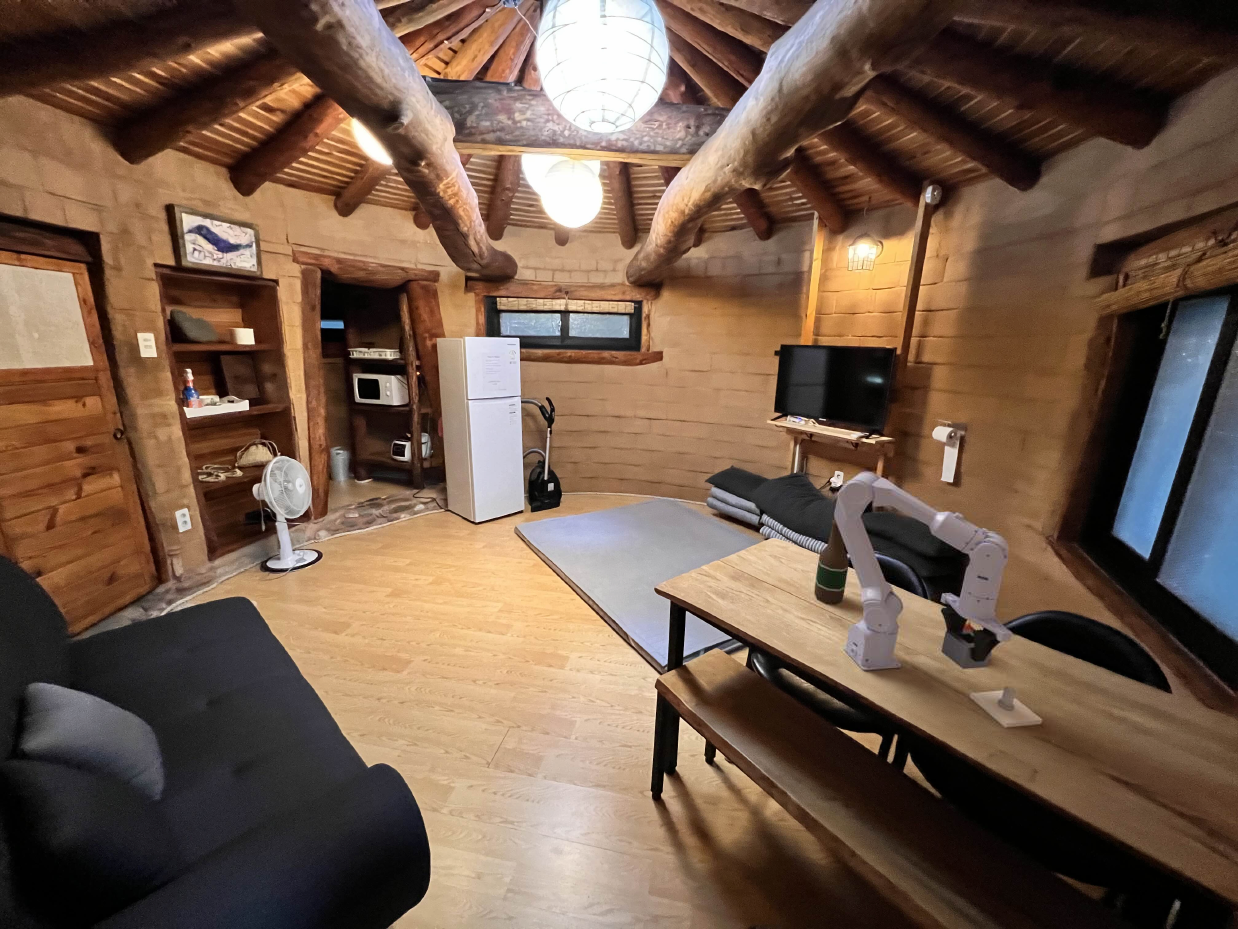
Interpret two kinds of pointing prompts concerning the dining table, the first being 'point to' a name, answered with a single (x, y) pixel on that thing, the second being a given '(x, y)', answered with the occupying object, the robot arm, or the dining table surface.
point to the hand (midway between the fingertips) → (965, 650)
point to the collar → (962, 649)
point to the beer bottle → (832, 569)
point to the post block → (1006, 708)
